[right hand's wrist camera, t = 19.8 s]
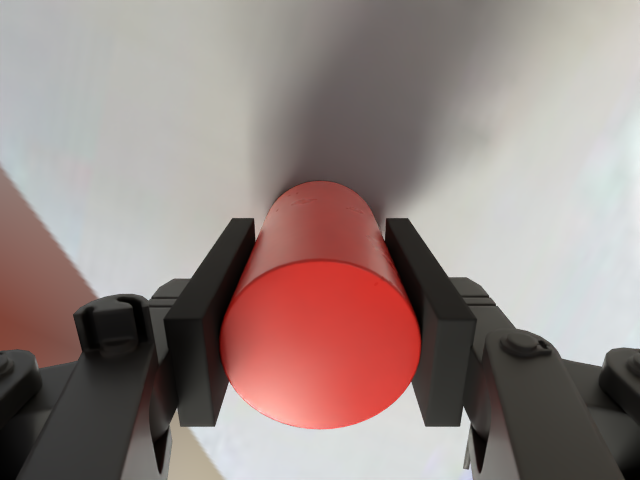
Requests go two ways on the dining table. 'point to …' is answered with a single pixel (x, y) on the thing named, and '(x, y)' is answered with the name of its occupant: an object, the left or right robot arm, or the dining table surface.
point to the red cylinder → (320, 314)
